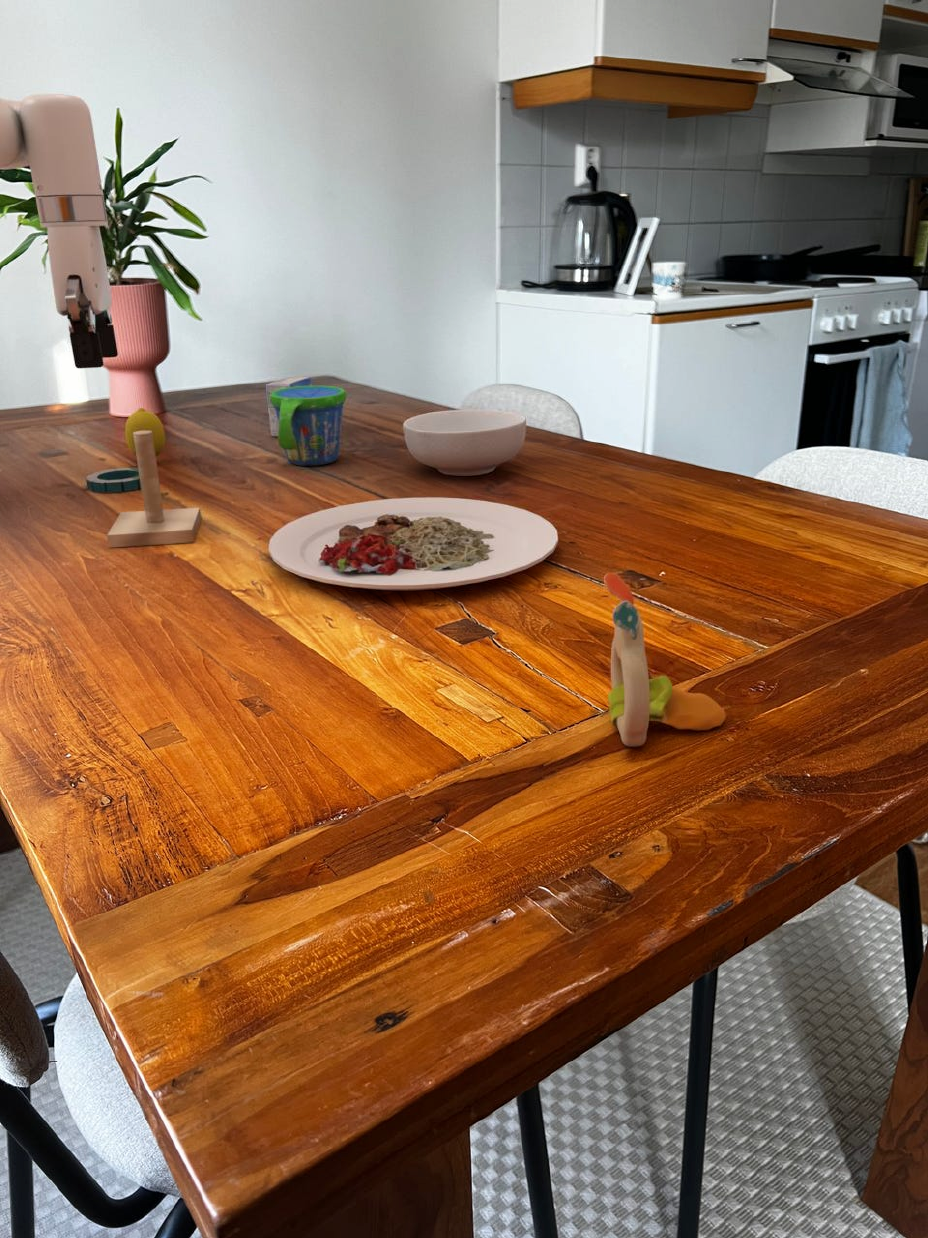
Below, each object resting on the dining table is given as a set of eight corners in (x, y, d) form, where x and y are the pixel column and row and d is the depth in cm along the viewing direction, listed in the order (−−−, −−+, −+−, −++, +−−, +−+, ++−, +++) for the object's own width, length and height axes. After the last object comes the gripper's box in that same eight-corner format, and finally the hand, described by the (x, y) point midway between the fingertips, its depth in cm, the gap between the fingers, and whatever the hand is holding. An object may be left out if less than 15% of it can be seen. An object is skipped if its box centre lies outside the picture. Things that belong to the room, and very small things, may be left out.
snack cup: (315, 476, 133) (309, 401, 129) (251, 470, 137) (244, 397, 133) (371, 453, 146) (367, 384, 142) (311, 447, 150) (306, 381, 146)
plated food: (587, 524, 110) (588, 495, 108) (507, 620, 84) (507, 584, 82) (349, 504, 119) (347, 477, 118) (212, 585, 93) (207, 552, 92)
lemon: (122, 466, 141) (113, 410, 138) (142, 457, 146) (134, 404, 143) (156, 467, 139) (148, 411, 136) (175, 458, 144) (168, 405, 141)
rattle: (721, 771, 60) (738, 600, 56) (591, 755, 62) (597, 589, 58) (725, 716, 67) (740, 559, 63) (607, 703, 69) (613, 551, 65)
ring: (82, 494, 126) (80, 484, 125) (94, 479, 134) (92, 469, 133) (147, 490, 127) (145, 480, 127) (155, 476, 135) (154, 466, 134)
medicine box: (294, 438, 157) (289, 384, 154) (270, 436, 158) (265, 383, 155) (316, 428, 164) (312, 376, 160) (292, 427, 165) (287, 376, 162)
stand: (109, 547, 105) (91, 442, 100) (122, 524, 113) (107, 426, 109) (193, 542, 106) (180, 438, 102) (201, 519, 114) (189, 422, 110)
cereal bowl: (483, 450, 146) (482, 403, 143) (550, 472, 133) (550, 420, 130) (383, 466, 137) (381, 416, 135) (445, 491, 124) (443, 436, 122)
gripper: (56, 215, 121) (81, 355, 128) (19, 213, 105) (49, 373, 112) (118, 213, 122) (139, 352, 129) (90, 211, 106) (116, 370, 113)
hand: (97, 362), depth 120 cm, fingers open, 9 cm apart
